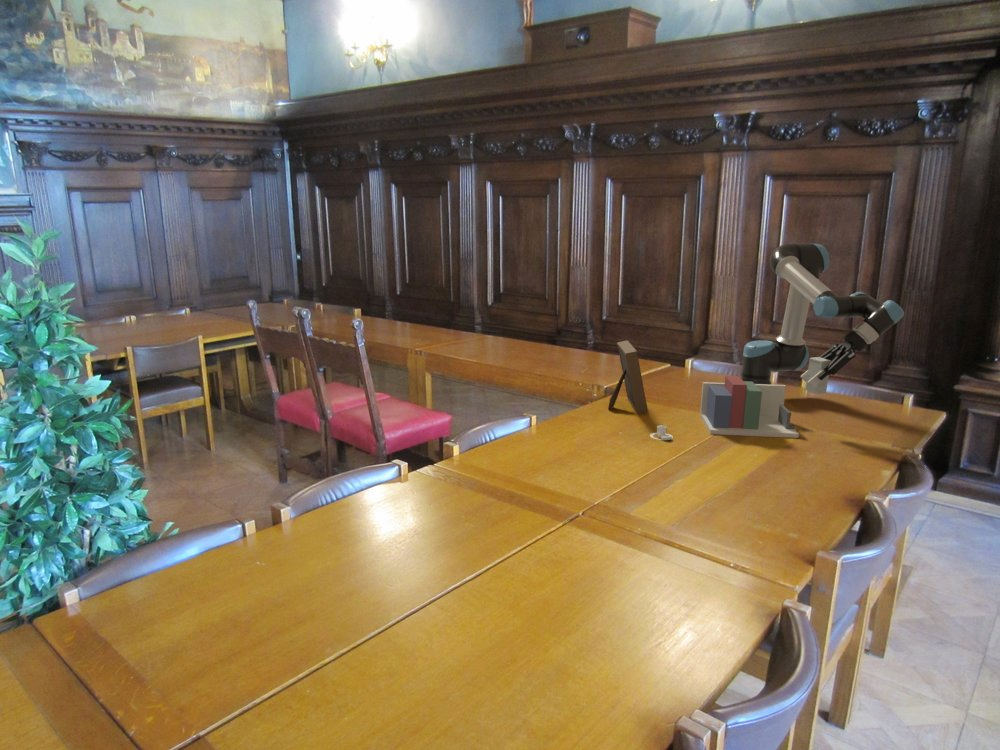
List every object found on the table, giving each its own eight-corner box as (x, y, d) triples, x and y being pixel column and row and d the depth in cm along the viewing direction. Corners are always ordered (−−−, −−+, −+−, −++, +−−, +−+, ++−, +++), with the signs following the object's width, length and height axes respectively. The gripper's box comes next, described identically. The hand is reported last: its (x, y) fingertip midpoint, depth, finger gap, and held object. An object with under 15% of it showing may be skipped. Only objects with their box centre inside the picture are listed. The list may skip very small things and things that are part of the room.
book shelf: (700, 416, 258) (703, 372, 254) (780, 419, 255) (785, 374, 250) (710, 434, 237) (714, 386, 233) (798, 437, 234) (804, 389, 230)
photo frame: (637, 399, 281) (641, 340, 275) (647, 414, 260) (651, 351, 254) (602, 398, 282) (605, 340, 276) (609, 413, 261) (612, 350, 255)
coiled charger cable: (673, 443, 229) (674, 431, 228) (649, 441, 231) (650, 430, 230) (672, 434, 238) (673, 423, 237) (649, 433, 239) (650, 422, 238)
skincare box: (804, 390, 241) (808, 357, 238) (814, 389, 242) (818, 356, 239) (817, 394, 235) (821, 361, 232) (827, 393, 236) (831, 360, 233)
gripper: (880, 350, 223) (824, 396, 229) (855, 339, 242) (804, 382, 248) (865, 335, 222) (809, 381, 228) (842, 324, 242) (790, 367, 247)
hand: (806, 381), depth 238 cm, fingers closed on skincare box, 7 cm apart
